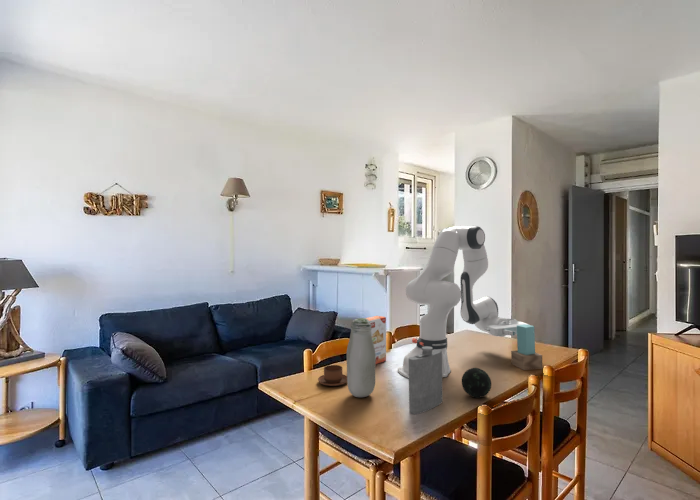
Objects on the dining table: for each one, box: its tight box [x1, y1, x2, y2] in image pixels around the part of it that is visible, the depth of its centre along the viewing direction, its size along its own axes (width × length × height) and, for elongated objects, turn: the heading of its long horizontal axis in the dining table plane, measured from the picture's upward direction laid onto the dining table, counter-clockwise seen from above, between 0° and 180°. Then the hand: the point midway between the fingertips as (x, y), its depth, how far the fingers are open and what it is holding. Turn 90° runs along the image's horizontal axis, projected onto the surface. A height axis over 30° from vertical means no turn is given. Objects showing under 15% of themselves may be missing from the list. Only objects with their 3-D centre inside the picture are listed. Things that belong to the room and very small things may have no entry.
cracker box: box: [365, 315, 387, 365], centre depth 179 cm, size 14×6×21 cm, turn 136°
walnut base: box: [510, 350, 543, 371], centre depth 171 cm, size 9×9×6 cm
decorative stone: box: [461, 367, 492, 399], centre depth 138 cm, size 10×10×10 cm
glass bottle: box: [346, 317, 376, 398], centre depth 140 cm, size 10×10×28 cm
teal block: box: [516, 324, 536, 355], centre depth 171 cm, size 5×5×12 cm
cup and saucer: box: [317, 364, 347, 387], centre depth 154 cm, size 12×12×6 cm
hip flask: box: [408, 346, 444, 415], centre depth 130 cm, size 16×4×20 cm, turn 132°
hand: (521, 332), depth 174 cm, fingers open, 8 cm apart
